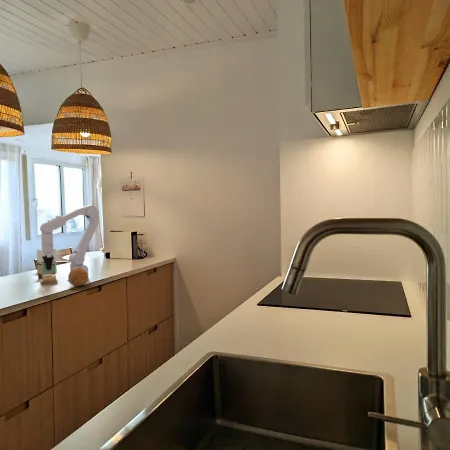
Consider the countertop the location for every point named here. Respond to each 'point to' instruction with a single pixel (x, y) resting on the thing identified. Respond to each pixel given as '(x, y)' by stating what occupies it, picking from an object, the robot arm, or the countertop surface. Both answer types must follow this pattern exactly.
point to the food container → (39, 269)
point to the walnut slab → (48, 282)
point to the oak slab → (49, 277)
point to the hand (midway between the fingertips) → (48, 269)
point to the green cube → (46, 269)
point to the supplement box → (39, 256)
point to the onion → (78, 276)
